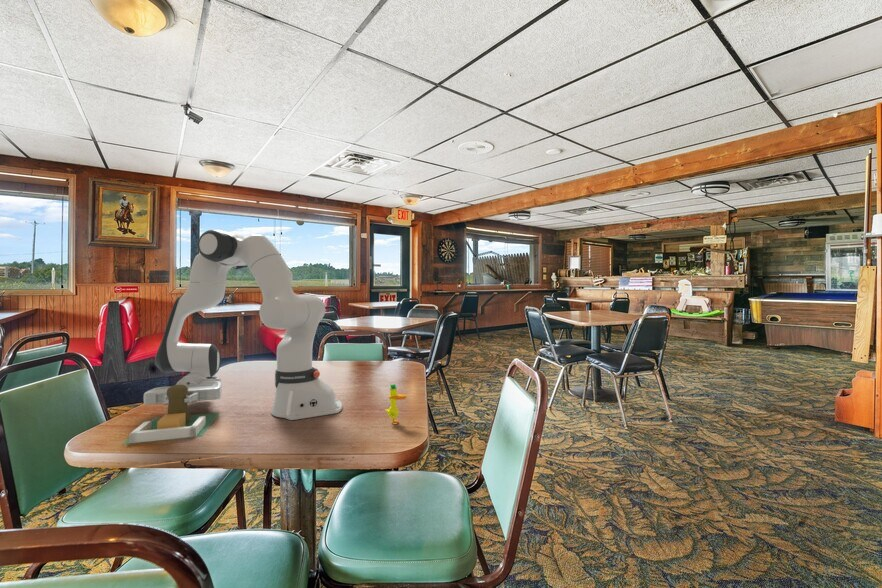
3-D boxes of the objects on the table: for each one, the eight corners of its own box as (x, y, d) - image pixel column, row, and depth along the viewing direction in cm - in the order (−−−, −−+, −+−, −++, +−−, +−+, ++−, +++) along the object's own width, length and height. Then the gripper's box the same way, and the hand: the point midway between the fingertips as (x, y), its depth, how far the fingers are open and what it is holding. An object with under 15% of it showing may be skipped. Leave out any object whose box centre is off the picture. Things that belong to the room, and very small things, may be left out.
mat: (219, 413, 121) (219, 412, 121) (201, 437, 102) (201, 436, 102) (153, 419, 115) (153, 418, 115) (121, 445, 97) (121, 444, 97)
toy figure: (406, 421, 116) (407, 383, 116) (406, 425, 113) (406, 386, 112) (385, 421, 116) (385, 382, 116) (383, 425, 112) (384, 386, 112)
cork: (179, 427, 108) (178, 391, 106) (160, 424, 109) (159, 388, 107) (195, 417, 114) (194, 383, 112) (177, 415, 115) (176, 381, 113)
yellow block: (185, 426, 109) (185, 412, 109) (178, 433, 104) (178, 419, 104) (165, 428, 108) (165, 414, 108) (157, 436, 102) (157, 421, 102)
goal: (205, 424, 111) (205, 415, 111) (195, 436, 102) (195, 427, 102) (145, 430, 106) (145, 421, 106) (129, 443, 97) (129, 433, 97)
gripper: (153, 381, 119) (133, 393, 106) (226, 377, 125) (215, 387, 112) (153, 400, 119) (133, 415, 106) (226, 395, 126) (215, 408, 112)
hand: (176, 401), depth 109 cm, fingers closed on cork, 4 cm apart
